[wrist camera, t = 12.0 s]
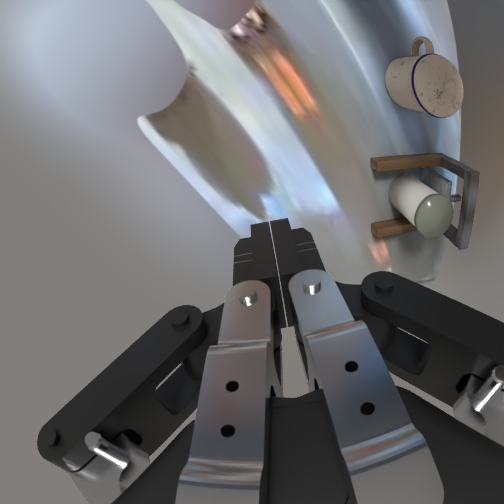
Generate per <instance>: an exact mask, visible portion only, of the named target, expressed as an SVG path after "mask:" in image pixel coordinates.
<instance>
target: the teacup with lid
mask: <svg viewBox="0 0 504 504" xmlns="http://www.w3.org/2000/svg"><path fill="white" fill-rule="evenodd" d="M423 42H424V43H425V46H426V54H425V55H423V56H418V51H419V47H420V45H421V44H422V43H423ZM385 84H386V88H387V91H388V93H389V95H390V96H391V98H392V99H393V100H394V101H395V102H396V103H397V104H398V105H400V106H401V107H403V108H406V109H411V110H415V111H419V112H424V113H428V114H430V115H431V116H434V117H437V118H446V117H449V116H452V115H453V114H454V113H456V112H457V110H458V109H459V108H460V106H461V103H462V99H463V84H462V80H461V77H460V75H459V73H458V71H457V69H456V68H455V67H454V65H453V64H452V63H451V62H450V61H449V60H447V59H446V58H444V57H442V56H440V55H437V54H434V48H433V44H432V42H431V41H430V40H429V39H428V38H426V37H422V36H420V37H417V38H416V39H415V40H414V41H413V43H412V46H411V57H402V58H397V59H395V60H393V61H392V62H391V63H390V64H389V66H388V67H387V70H386V73H385Z"/></svg>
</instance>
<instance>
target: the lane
mask: <svg viewBox="0 0 504 504" xmlns="http://www.w3.org/2000/svg"><path fill="white" fill-rule="evenodd" d="M433 166H442V167H443V168H445V169H447V170H449V171H451V172H453V173H454V174H456V175H458V176H460V177H461V178H463V179H464V186H463V196H462V205H461V211H460V218H459V225H458V229H457V228H455V227H454V226H453V225H452V224H450V226H449V227H448V229H447V230H446V232H445V233H443V234H444V235H445V236H446V237H447V238H448V239H449V240H450V241H451V242H452V243H453V244H454V245H455V246H456V247H457V248H458V249H459V250H461V249H465V248H468V244H469V239H470V235H471V229H472V224H473V218H474V212H475V206H476V199H477V191H478V183H479V172H478V171H475V170H474V169H472V168H470V167H468V166H466V165H465V164H462V163H461V162H459V161H457V160H455V159H453V158H450V157H448V156H446V155H444V154H442V153H432V154H414V155H400V156H388V157H377V158H371V168H373V169H374V170H376V171H377V172H380V171H389V170H399V169H410V168H421V167H433ZM416 230H417V229H416V227H415V226H414V225H413V224H412V223H411V222H410V221H409V220H408V219H407V218H406V217H405V218H399V219H393V220H387V221H381V222H376V223H372V227H371V231H372V232H373V233H374V235H375V236H376V237H377V238H379V237H384V236H389V235H395V234H400V233H405V232H411V231H416Z"/></svg>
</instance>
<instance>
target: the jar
mask: <svg viewBox="0 0 504 504" xmlns="http://www.w3.org/2000/svg"><path fill="white" fill-rule="evenodd" d="M389 200H390V202H391V204H392V205H393V206H394V207H395V208H396V209H397V210H398V211H399V212H400V213H402V214H403V215H404V216H405V217H406V218H407V219H408V220H409V221H410V222H411V223H412V224H413V225H414V226H415V227H416V229H417V230H418V231H419V232H420V233H421V234H422V235H423V236H424V237H425V238H428V239H434V238H437V237H439V236H441V235H442V234H443V233H444V232H445V231H446V230H447V229H448V227H449V226H450V224H451V221H452V217H453V206H452V204H451V202H450V201H449V200H448V199H447V198H446V197H444V196H443V195H441V194H438V193H437V192H435V191H434V190H433V189H431V188H430V187H428V186H427V185H425V184H424V183H422V182H421V181H419V180H418V179H416V178H415V177H413V176H412V175H408V174H404V175H401V176H399V177H397V178H396V179H395V180H394V181H393V182H392V184H391V186H390V189H389Z"/></svg>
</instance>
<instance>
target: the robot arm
mask: <svg viewBox="0 0 504 504" xmlns="http://www.w3.org/2000/svg"><path fill="white" fill-rule="evenodd" d="M270 224H271V230H272V235H273V241H274V246H275V252H276V258H277V264H278V269H279V275H280V281H281V286H282V292H283V298H284V304H285V309H286V316H287V321H288V327H290V326H294V328H295V334H296V341H297V346H298V350H299V353H300V357H301V361H302V364H303V368H304V372H305V376H306V379H307V383H308V387H309V392H310V393H307V394H305V395H303V396H300V397H297V398H284V397H283V372H282V345H281V341H282V335H281V328H285V327H286V321H285V314H284V308H283V302H282V295H281V290H280V283H279V277H278V271H277V265H276V259H275V254H274V248H273V243H272V238H271V232H270V227H269V222H263V223H258V224H253V225H251V237H249V238H244V239H240V240H239V241H238V243H237V244H236V246H235V248H234V269H233V270H234V271H233V287H232V288H231V289H230V290H229V291H228V292H227V294H226V297H225V302H224V303H223V304H222V305H220V306H218V307H216V308H214V309H212V310H209V311H207V312H204V313H202V312H201V311H200V309H198V308H197V307H195V306H191V305H183V306H179V307H176V308H174V309H173V310H170V311H169V312H168V313H166V315H164V316H163V317H162V318H161V319H160V320H159V321H158V322H156V323H155V324H154V325H153V326H152V327H151V328H150V329H149V330H148V331H146V332H145V333H144V334H143V335H142V336H141V337H140V338H139V339H138V340H137V341H135V342H134V343H133V344H132V345H131V346H130V347H129V348H128V349H127V350H125V351H124V352H123V353H122V354H121V355H120V356H119V357H118V358H117V359H115V360H114V361H113V362H112V363H111V364H110V365H109V366H108V367H107V368H106V369H105V370H103V371H102V372H101V373H100V374H99V375H98V376H97V377H96V378H95V379H93V381H91V382H90V383H89V384H88V385H87V386H86V387H85V388H84V389H83V390H82V391H80V392H79V393H78V394H77V395H76V396H75V397H74V398H73V399H72V400H71V401H70V402H69V403H67V404H66V405H65V406H64V407H63V408H62V409H61V410H60V411H59V412H58V413H57V414H56V415H55V416H53V417H52V418H51V419H50V420H49V421H48V422H47V423H46V424H45V425H44V426H43V427H42V429H41V430H40V432H39V435H38V441H37V446H38V450H39V452H40V454H41V456H42V457H43V458H44V459H46V460H48V461H49V462H51V463H53V464H55V465H57V466H58V467H60V468H62V469H63V470H64V471H66V472H68V473H69V474H70V476H71V478H72V479H73V481H74V482H75V484H76V485H77V487H78V488H79V490H80V491H81V493H82V494H83V495H84V497H85V498H86V500H87V501H88V502H89V504H504V323H503V322H501V321H499V320H496V319H494V318H492V317H490V316H488V315H486V314H484V313H482V312H480V311H477V310H475V309H473V308H471V307H469V306H467V305H464V304H462V303H460V302H458V301H456V300H453V299H451V298H449V297H447V296H445V295H442V294H440V293H438V292H436V291H433V290H431V289H429V288H426V287H424V286H422V285H420V284H417V283H415V282H413V281H411V280H408V279H406V278H404V277H401V276H399V275H397V274H394V273H391V272H386V271H379V272H374V273H371V274H369V275H368V276H366V277H365V278H364V279H363V281H362V284H361V285H352V284H343V283H339V282H337V281H334V279H333V277H332V276H331V275H330V274H329V273H327V272H326V271H325V268H324V266H323V263H322V260H321V258H320V255H319V253H318V250H317V248H316V245H315V243H314V240H313V238H312V235H311V233H310V232H308V231H307V230H306V229H304V228H298V229H292V230H291V227H290V224H289V220H288V218H285V219H279V220H274V221H270ZM398 327H399V328H401V329H403V330H405V331H407V332H409V333H411V334H413V335H415V336H417V337H419V338H420V339H422V340H424V341H426V342H427V343H428V344H427V343H425V342H424V341H421V340H420V339H417V338H416V337H414V336H412V335H410V334H408V333H406V332H404V331H402V330H400V329H398ZM180 363H181V364H182V365H181V366H180V367H179V368H178V369H177V370H176V371H175V372H174V373H173V374H172V375H171V376H170V377H169V378H168V379H167V380H166V381H165V382H164V383H163V384H162V385H161V386H160V387H159V388H158V389H157V390H155V389H156V387H157V386H158V385H159V384H160V382H161V381H163V380H164V379H165V378H166V377H167V376H168V375H169V374H170V373H171V372H172V371H173V370H174V369H175V368H176V367H177V366H178V365H179V364H180ZM389 372H391V373H393V374H394V375H396V376H398V377H399V378H401V379H403V380H405V381H407V382H408V383H410V384H412V385H414V386H415V387H417V388H419V389H421V390H422V391H424V392H426V393H428V394H430V395H432V396H433V397H435V398H437V399H439V400H440V401H442V402H444V403H446V404H448V405H449V406H451V407H453V413H454V417H455V418H454V417H452V416H450V415H449V414H447V413H445V412H444V411H442V410H440V409H439V408H437V407H436V406H434V405H432V404H430V403H429V402H427V401H425V400H424V399H422V398H421V397H419V396H418V395H416V394H414V393H412V392H411V391H409V390H407V389H404V388H402V387H399V386H396V385H395V383H394V381H393V379H392V377H391V375H390V373H389ZM196 408H197V412H196V418H195V420H193V421H192V422H191V423H189V424H188V425H187V426H186V427H185V428H184V429H183V430H182V431H181V432H180V433H179V434H178V435H177V436H176V437H175V439H174V440H173V441H172V442H171V443H170V444H169V445H168V446H167V448H166V449H164V451H163V452H162V453H161V454H160V455H159V456H158V457H157V458H156V459H155V460H154V461H153V462H152V463H151V464H150V459H149V456H150V455H151V454H153V453H154V452H155V450H157V449H158V448H159V447H160V445H162V444H163V443H164V442H165V441H166V440H167V439H168V437H170V435H171V434H172V433H173V432H174V431H175V430H176V429H177V428H178V427H179V426H180V425H181V424H182V423H183V422H184V421H185V420H186V419H187V418H188V417H189V416H190V415H191V414H192V413H193V412H194V410H195V409H196Z"/></svg>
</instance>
